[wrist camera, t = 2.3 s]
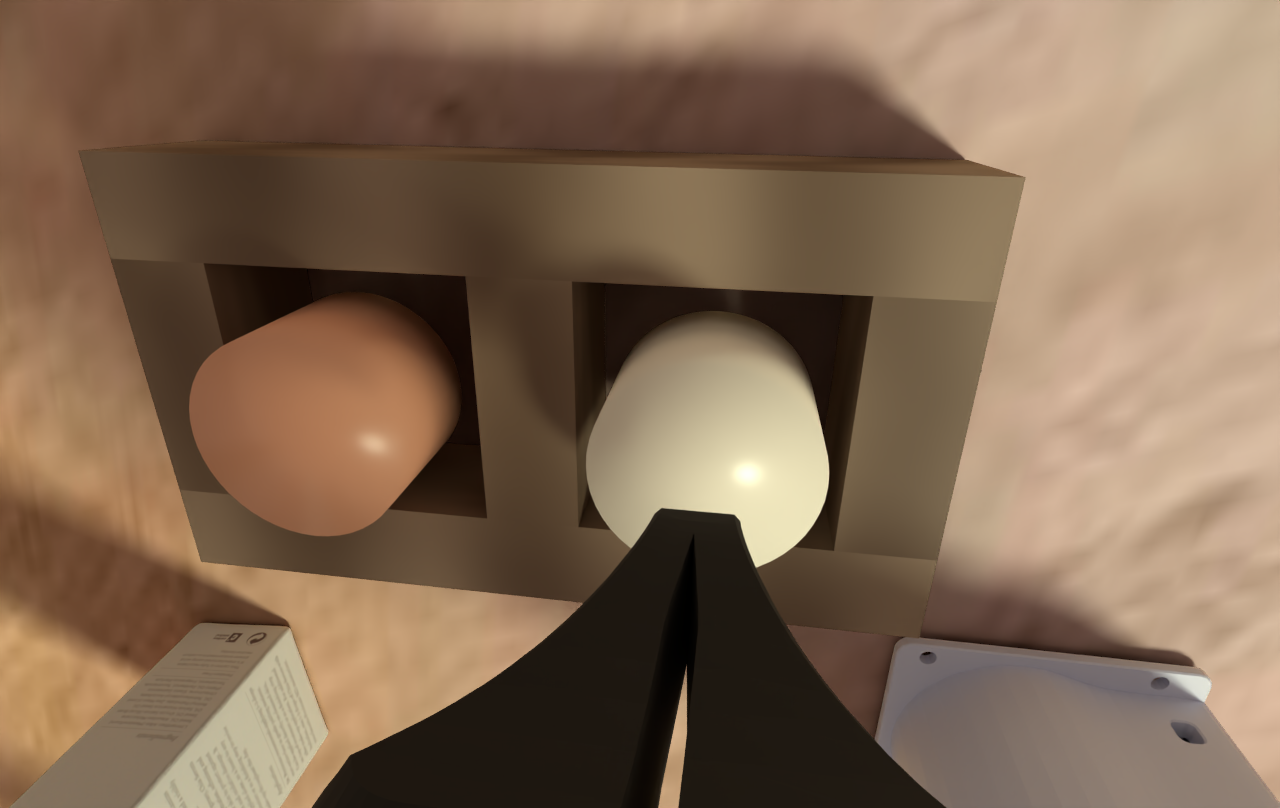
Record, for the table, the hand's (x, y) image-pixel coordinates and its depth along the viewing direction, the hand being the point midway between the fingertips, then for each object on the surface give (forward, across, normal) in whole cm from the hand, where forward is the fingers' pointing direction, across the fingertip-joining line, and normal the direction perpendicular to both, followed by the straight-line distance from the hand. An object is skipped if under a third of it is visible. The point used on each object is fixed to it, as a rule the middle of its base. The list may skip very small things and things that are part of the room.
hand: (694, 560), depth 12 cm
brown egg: (+6, +9, 0) cm, 11 cm away
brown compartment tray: (+9, +4, 0) cm, 10 cm away
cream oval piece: (+6, 0, 0) cm, 6 cm away
